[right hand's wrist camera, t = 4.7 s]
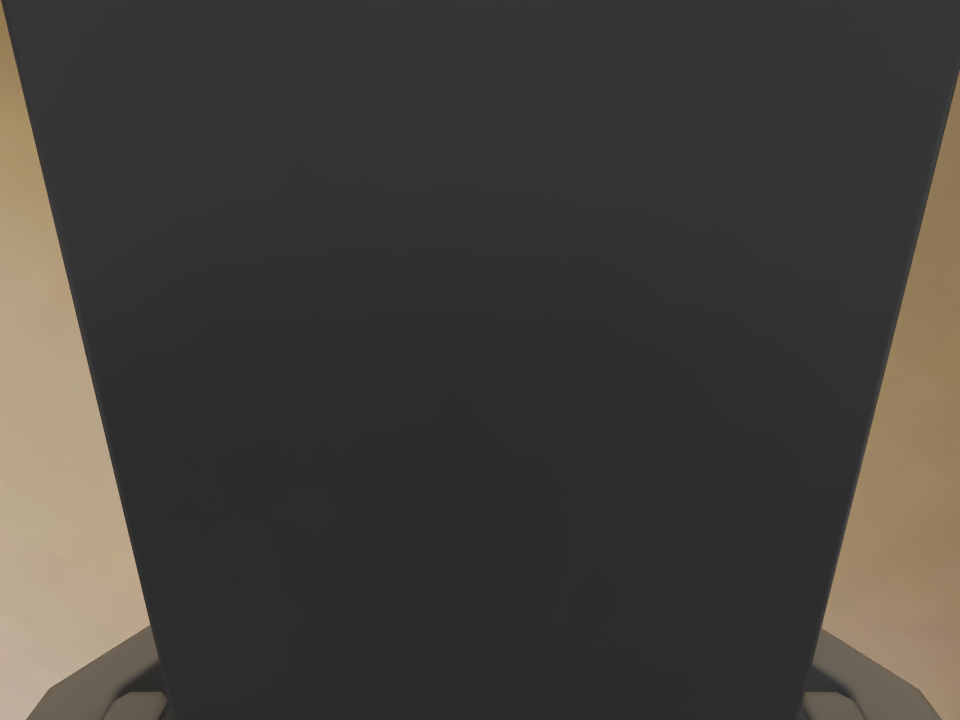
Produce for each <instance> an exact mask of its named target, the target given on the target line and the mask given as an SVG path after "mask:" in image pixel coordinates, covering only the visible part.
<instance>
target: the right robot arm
mask: <svg viewBox="0 0 960 720" xmlns="http://www.w3.org/2000/svg"><path fill="white" fill-rule="evenodd" d="M26 720H173V717H172V712H171V708H170V704H169V700H168V696H167V692H166V687H165V683H164V679H163V675H162V671H161V666H160V662H159V658H158V654H157V650H156V646H155V641H154V637H153V633H152V629H151V625H149V626H148V627H146V628H145V629H143V630H141V631H140V632H138V633H137V634H135V635H134V636H132V637H130V638H129V639H127V640H126V641H124V642H123V643H121V644H119V645H118V646H116V647H115V648H113V649H111V650H110V651H108V652H107V653H105V654H104V655H102V656H100V657H99V658H97V659H96V660H94V661H92V662H91V663H89V664H88V665H86V666H85V667H83V668H81V669H80V670H78V671H77V672H75V673H73V674H72V675H70V676H69V677H67V678H66V679H64V680H62V681H61V682H59V683H58V684H56V685H55V686H53V687H51V688H50V689H49V690H48V691H47V692H46V694H45V695H44V696H43V698H42V699H41V700H40V702H39V703H38V704H37V706H36V707H35V708H34V710H33V711H32V712H31V714H30V715H29V716H28V718H27V719H26ZM798 720H942V719H941V718H940V716H939V715H938V714H937V712H936V711H935V710H934V708H933V707H932V706H931V704H930V703H929V702H928V700H927V699H926V698H925V696H924V695H923V694H922V692H921V691H920V690H919V689H917V688H916V687H914V686H913V685H911V684H909V683H908V682H906V681H905V680H903V679H901V678H900V677H898V676H897V675H895V674H893V673H892V672H890V671H889V670H887V669H885V668H884V667H882V666H881V665H879V664H878V663H876V662H874V661H873V660H871V659H870V658H868V657H866V656H865V655H863V654H862V653H860V652H858V651H857V650H855V649H854V648H852V647H851V646H849V645H847V644H846V643H844V642H843V641H841V640H839V639H838V638H836V637H835V636H833V635H831V634H830V633H828V632H827V631H825V630H823V629H822V628H821V630H820V634H819V638H818V642H817V646H816V650H815V654H814V658H813V662H812V666H811V670H810V674H809V678H808V682H807V686H806V690H805V694H804V699H803V703H802V707H801V711H800V715H799V719H798Z"/></svg>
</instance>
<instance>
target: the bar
mask: <svg viewBox="0 0 960 720" xmlns="http://www.w3.org/2000/svg"><path fill="white" fill-rule="evenodd" d="M1 1H2V6H3V10H4V14H5V18H6V22H7V27H8V31H9V35H10V39H11V43H12V47H13V52H14V56H15V60H16V64H17V68H18V73H19V77H20V81H21V85H22V89H23V93H24V98H25V102H26V106H27V110H28V114H29V119H30V123H31V127H32V131H33V135H34V139H35V144H36V148H37V152H38V156H39V160H40V165H41V169H42V173H43V177H44V181H45V185H46V190H47V194H48V198H49V202H50V206H51V211H52V215H53V219H54V223H55V227H56V231H57V236H58V240H59V244H60V248H61V252H62V257H63V261H64V265H65V269H66V273H67V277H68V282H69V286H70V290H71V294H72V298H73V303H74V307H75V311H76V315H77V319H78V324H79V328H80V332H81V336H82V340H83V344H84V349H85V353H86V357H87V361H88V365H89V370H90V374H91V378H92V382H93V386H94V390H95V395H96V399H97V403H98V407H99V411H100V416H101V420H102V424H103V428H104V432H105V436H106V441H107V445H108V449H109V453H110V457H111V462H112V466H113V470H114V474H115V478H116V482H117V487H118V491H119V495H120V499H121V503H122V508H123V512H124V516H125V520H126V524H127V528H128V533H129V537H130V541H131V545H132V549H133V554H134V558H135V562H136V566H137V570H138V574H139V579H140V583H141V587H142V591H143V595H144V600H145V604H146V608H147V612H148V616H149V620H150V625H151V629H152V633H153V637H154V641H155V646H156V650H157V654H158V658H159V662H160V666H161V671H162V675H163V679H164V683H165V687H166V692H167V696H168V700H169V704H170V708H171V712H172V717H173V720H798V719H799V715H800V711H801V707H802V703H803V699H804V694H805V690H806V686H807V682H808V678H809V674H810V670H811V666H812V662H813V658H814V654H815V650H816V646H817V642H818V638H819V634H820V630H821V626H822V622H823V618H824V614H825V610H826V606H827V602H828V598H829V594H830V590H831V586H832V582H833V578H834V574H835V570H836V565H837V561H838V557H839V553H840V549H841V545H842V541H843V537H844V533H845V529H846V525H847V521H848V517H849V513H850V509H851V505H852V501H853V497H854V493H855V489H856V485H857V481H858V477H859V473H860V469H861V465H862V461H863V457H864V453H865V449H866V445H867V441H868V436H869V432H870V428H871V424H872V420H873V416H874V412H875V408H876V404H877V400H878V396H879V392H880V388H881V384H882V380H883V376H884V372H885V368H886V364H887V360H888V356H889V352H890V348H891V344H892V340H893V336H894V332H895V328H896V324H897V320H898V316H899V312H900V308H901V303H902V299H903V295H904V291H905V287H906V283H907V279H908V275H909V271H910V267H911V263H912V259H913V255H914V251H915V247H916V243H917V239H918V235H919V231H920V227H921V223H922V219H923V215H924V211H925V207H926V203H927V199H928V195H929V191H930V187H931V183H932V179H933V174H934V170H935V166H936V162H937V158H938V154H939V150H940V146H941V142H942V138H943V134H944V130H945V126H946V122H947V118H948V114H949V110H950V106H951V102H952V98H953V94H954V90H955V86H956V82H957V78H958V74H959V70H960V0H1Z"/></svg>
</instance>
